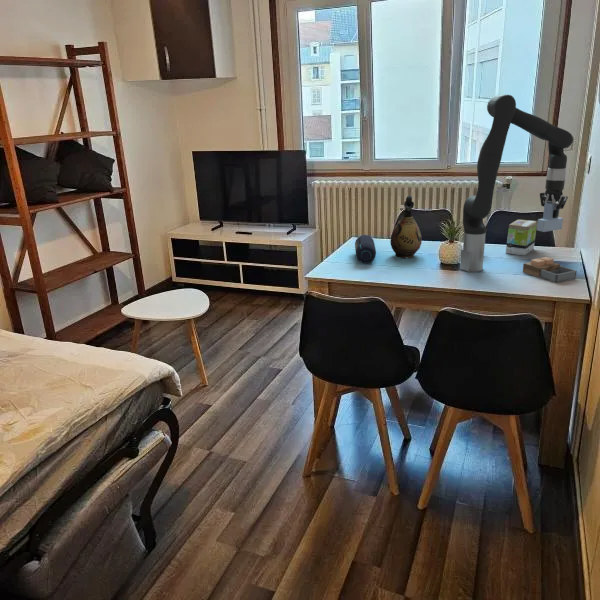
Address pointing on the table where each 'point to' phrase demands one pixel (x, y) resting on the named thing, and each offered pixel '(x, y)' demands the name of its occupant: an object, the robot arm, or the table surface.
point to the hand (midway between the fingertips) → (550, 216)
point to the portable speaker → (365, 249)
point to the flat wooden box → (539, 268)
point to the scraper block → (549, 220)
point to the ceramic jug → (406, 234)
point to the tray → (558, 274)
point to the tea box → (521, 237)
